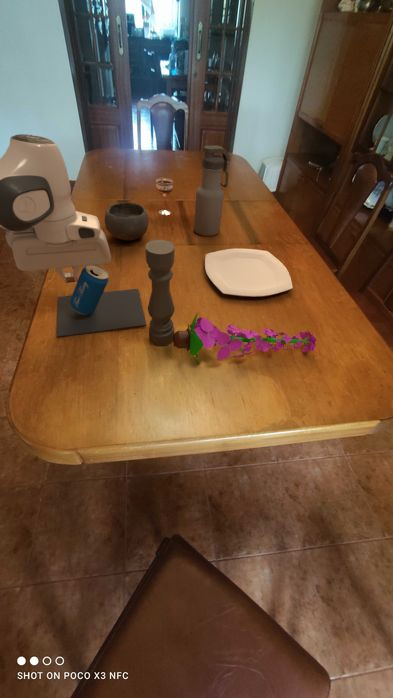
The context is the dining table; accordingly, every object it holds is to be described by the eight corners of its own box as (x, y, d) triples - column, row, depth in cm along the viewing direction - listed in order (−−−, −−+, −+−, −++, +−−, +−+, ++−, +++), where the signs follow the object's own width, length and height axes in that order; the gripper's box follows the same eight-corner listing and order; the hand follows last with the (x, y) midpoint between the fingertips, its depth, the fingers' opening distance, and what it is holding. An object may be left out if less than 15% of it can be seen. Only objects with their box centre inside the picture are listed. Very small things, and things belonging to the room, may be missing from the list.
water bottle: (214, 223, 126) (223, 142, 106) (224, 235, 120) (235, 151, 100) (190, 226, 123) (194, 143, 103) (199, 238, 117) (206, 152, 97)
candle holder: (177, 333, 81) (180, 242, 63) (168, 349, 77) (169, 257, 59) (155, 326, 82) (151, 236, 64) (145, 342, 78) (138, 250, 60)
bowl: (105, 228, 117) (101, 201, 110) (145, 226, 120) (144, 199, 113) (108, 249, 107) (104, 220, 100) (152, 246, 111) (151, 217, 104)
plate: (269, 251, 114) (271, 246, 112) (302, 297, 96) (304, 292, 94) (196, 255, 108) (197, 250, 107) (216, 304, 91) (217, 299, 89)
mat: (56, 337, 77) (56, 336, 77) (58, 298, 88) (57, 296, 87) (146, 326, 82) (146, 324, 82) (138, 289, 93) (137, 288, 92)
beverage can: (63, 303, 80) (77, 265, 73) (80, 297, 85) (95, 260, 79) (82, 319, 80) (99, 282, 73) (98, 312, 85) (115, 276, 79)
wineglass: (166, 207, 133) (166, 176, 125) (176, 213, 130) (176, 182, 121) (153, 210, 130) (152, 179, 122) (162, 217, 127) (162, 185, 118)
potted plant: (169, 353, 81) (293, 352, 89) (178, 377, 66) (328, 373, 73) (170, 305, 78) (299, 308, 85) (180, 318, 63) (337, 320, 70)
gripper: (-1, 236, 62) (23, 293, 72) (106, 229, 67) (114, 284, 77) (4, 221, 66) (25, 277, 76) (104, 216, 71) (112, 270, 81)
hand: (71, 281), depth 76 cm, fingers closed
